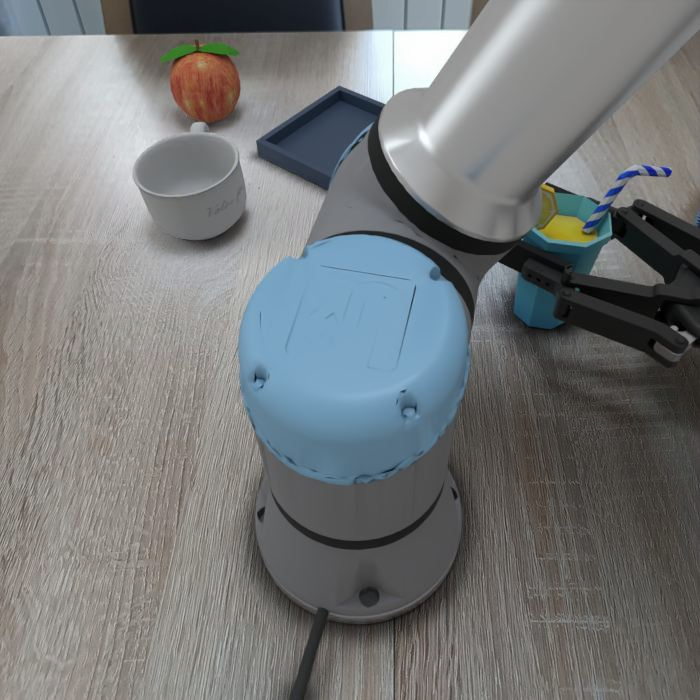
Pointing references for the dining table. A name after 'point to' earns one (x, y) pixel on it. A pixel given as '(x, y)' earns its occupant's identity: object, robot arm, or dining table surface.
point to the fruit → (204, 80)
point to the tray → (319, 134)
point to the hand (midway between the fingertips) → (519, 219)
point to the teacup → (192, 183)
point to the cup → (570, 240)
